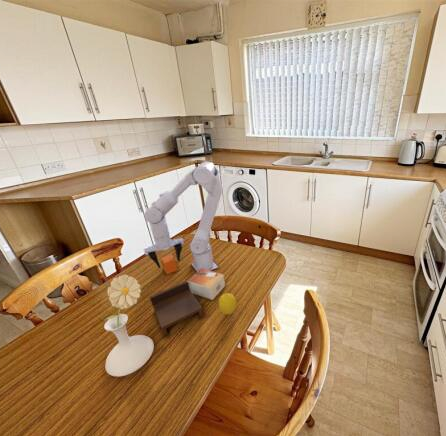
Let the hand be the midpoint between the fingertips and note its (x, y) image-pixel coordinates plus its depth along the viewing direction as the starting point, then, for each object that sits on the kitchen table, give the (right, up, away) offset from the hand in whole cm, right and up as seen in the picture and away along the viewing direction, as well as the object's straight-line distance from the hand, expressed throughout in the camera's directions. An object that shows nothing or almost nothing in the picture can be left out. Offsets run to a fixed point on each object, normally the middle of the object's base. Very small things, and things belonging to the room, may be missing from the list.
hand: (169, 263), depth 98 cm
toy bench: (+13, -13, -21) cm, 28 cm away
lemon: (+29, -13, -21) cm, 38 cm away
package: (0, -3, +1) cm, 3 cm away
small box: (+24, -6, -14) cm, 28 cm away
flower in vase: (+6, -19, -34) cm, 39 cm away
